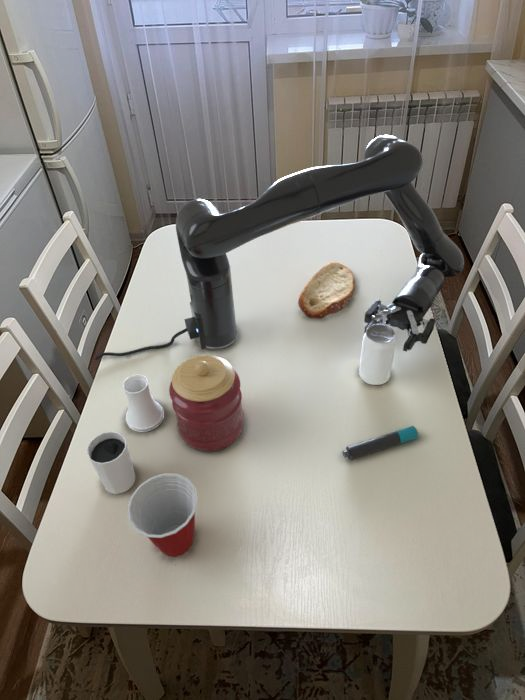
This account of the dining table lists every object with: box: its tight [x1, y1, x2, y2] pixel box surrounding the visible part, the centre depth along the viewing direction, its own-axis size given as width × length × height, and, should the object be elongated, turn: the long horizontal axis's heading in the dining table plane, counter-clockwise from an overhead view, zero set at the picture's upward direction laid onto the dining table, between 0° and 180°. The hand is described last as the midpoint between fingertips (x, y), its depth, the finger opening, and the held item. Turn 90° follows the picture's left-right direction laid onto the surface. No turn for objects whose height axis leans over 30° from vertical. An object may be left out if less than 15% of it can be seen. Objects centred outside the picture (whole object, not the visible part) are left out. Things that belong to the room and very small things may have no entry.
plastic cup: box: [126, 472, 199, 558], centre depth 86 cm, size 11×11×12 cm
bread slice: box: [297, 261, 356, 320], centre depth 135 cm, size 18×18×4 cm
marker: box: [342, 425, 419, 460], centre depth 101 cm, size 15×2×2 cm
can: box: [358, 324, 397, 386], centre depth 111 cm, size 6×6×12 cm
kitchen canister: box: [168, 354, 245, 452], centre depth 101 cm, size 13×13×18 cm
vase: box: [122, 373, 165, 433], centre depth 106 cm, size 8×8×10 cm
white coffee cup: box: [86, 431, 136, 495], centre depth 95 cm, size 7×7×10 cm
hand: (385, 340), depth 113 cm, fingers open, 8 cm apart
